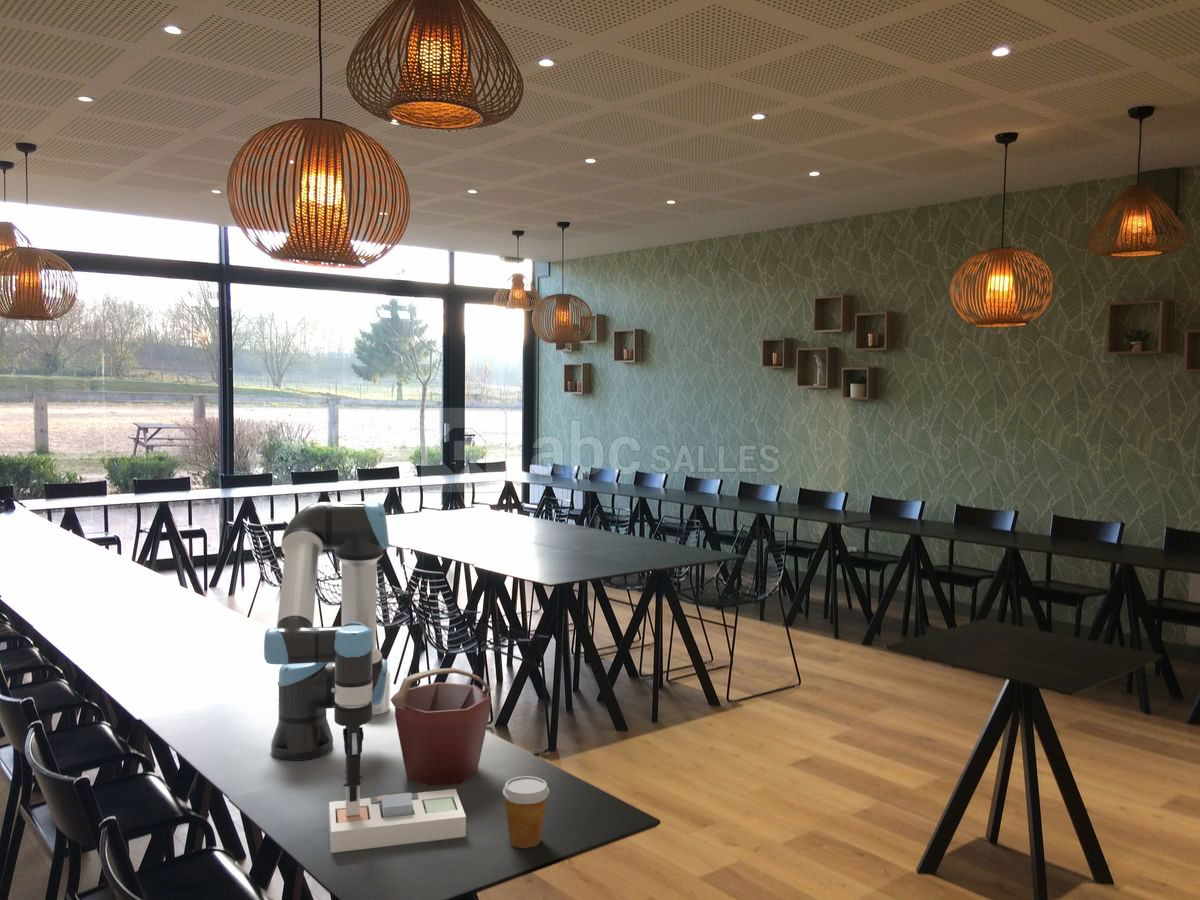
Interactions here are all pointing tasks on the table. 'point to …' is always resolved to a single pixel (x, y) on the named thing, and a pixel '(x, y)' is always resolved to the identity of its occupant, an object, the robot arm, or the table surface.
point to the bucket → (441, 727)
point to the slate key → (396, 805)
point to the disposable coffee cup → (525, 809)
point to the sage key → (439, 805)
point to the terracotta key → (343, 818)
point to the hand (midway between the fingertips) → (352, 813)
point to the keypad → (397, 824)
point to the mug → (385, 702)
